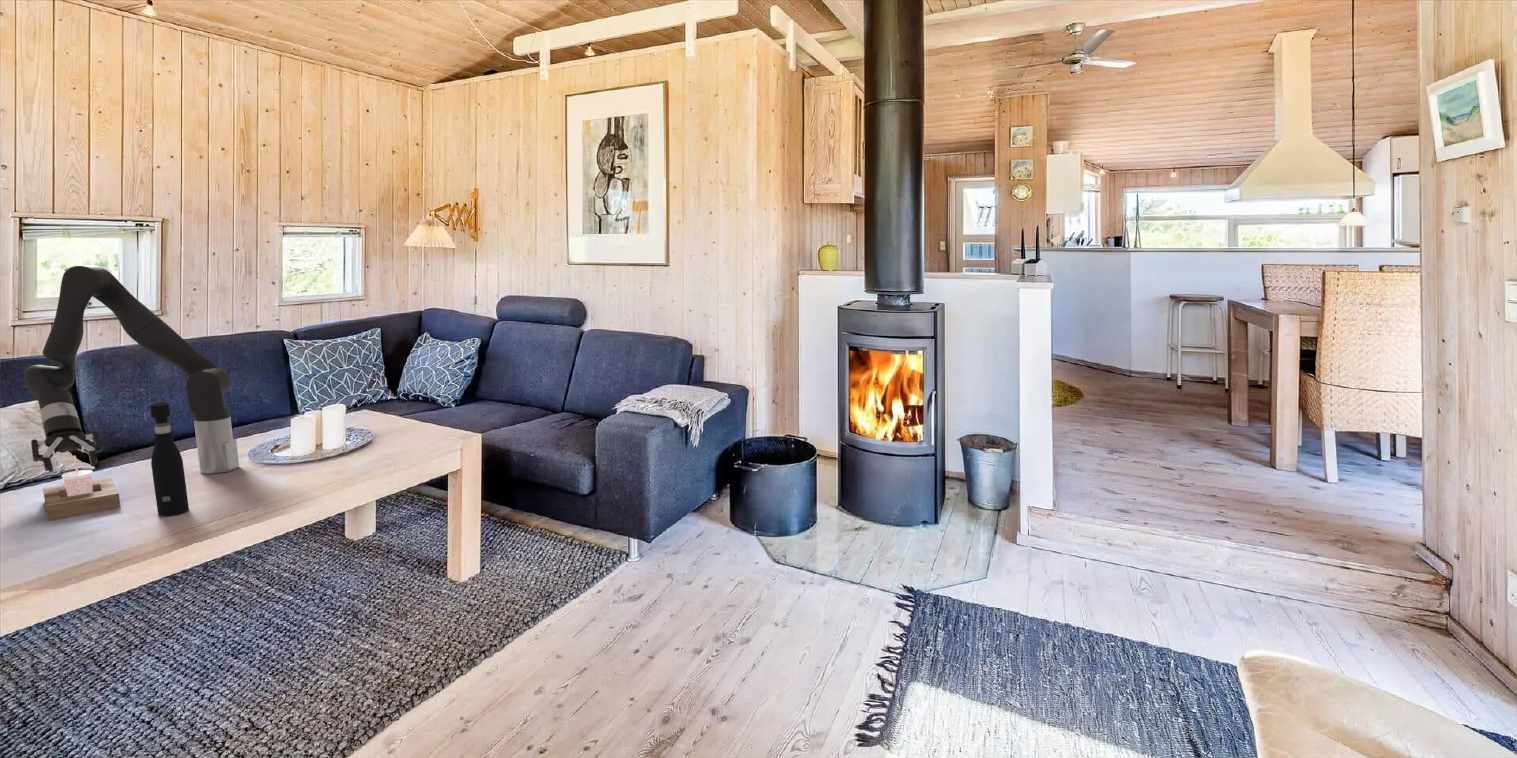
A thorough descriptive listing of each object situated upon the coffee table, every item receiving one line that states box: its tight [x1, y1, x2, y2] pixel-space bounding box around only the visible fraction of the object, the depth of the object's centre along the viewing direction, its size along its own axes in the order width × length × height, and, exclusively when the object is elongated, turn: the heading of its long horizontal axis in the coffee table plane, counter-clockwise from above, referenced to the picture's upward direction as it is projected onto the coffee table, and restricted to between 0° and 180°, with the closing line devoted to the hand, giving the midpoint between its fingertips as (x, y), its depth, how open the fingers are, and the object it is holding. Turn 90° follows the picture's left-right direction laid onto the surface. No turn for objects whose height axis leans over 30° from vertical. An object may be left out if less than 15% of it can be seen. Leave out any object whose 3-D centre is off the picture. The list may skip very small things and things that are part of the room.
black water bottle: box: [149, 402, 190, 518], centre depth 183 cm, size 6×6×30 cm
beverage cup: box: [61, 455, 94, 496], centre depth 189 cm, size 6×6×14 cm
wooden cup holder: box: [42, 476, 122, 521], centre depth 189 cm, size 20×14×4 cm
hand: (72, 467), depth 194 cm, fingers open, 8 cm apart
